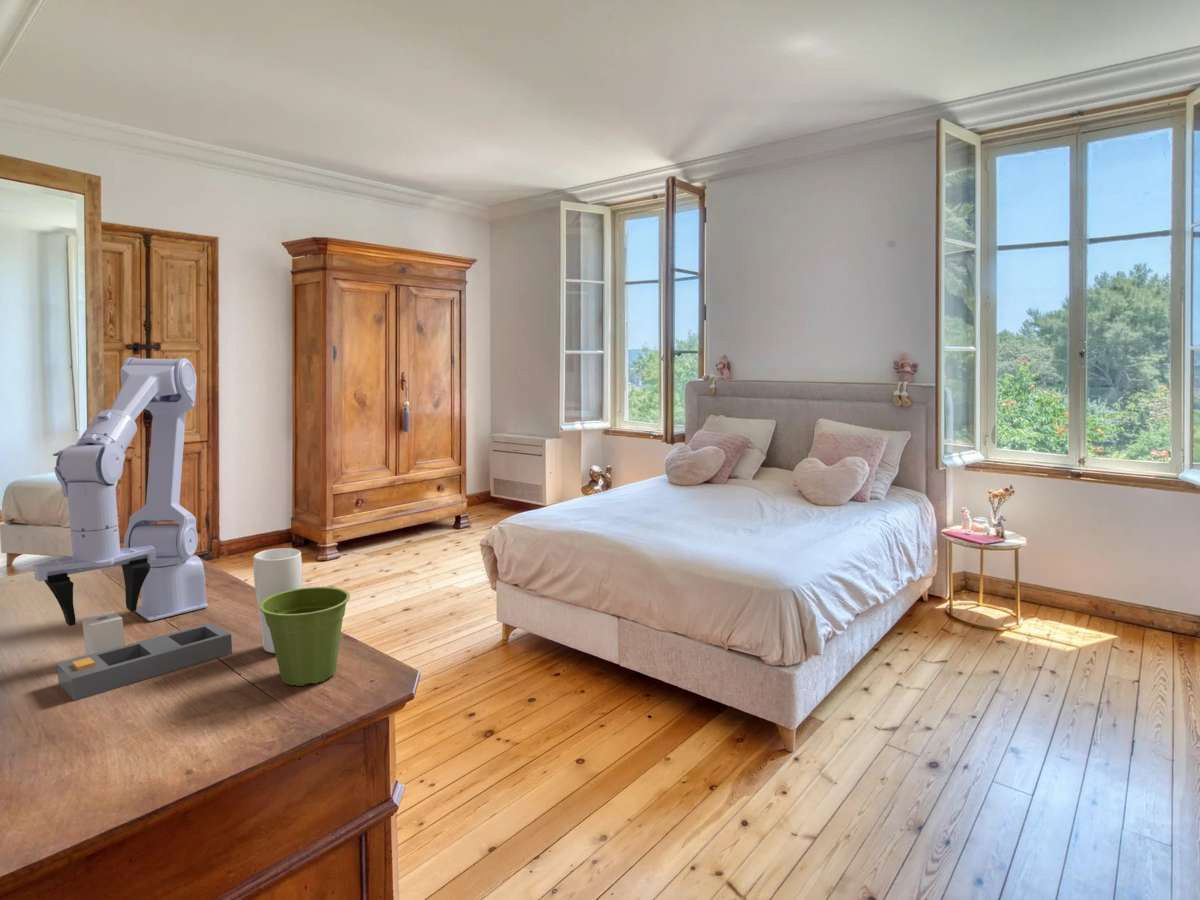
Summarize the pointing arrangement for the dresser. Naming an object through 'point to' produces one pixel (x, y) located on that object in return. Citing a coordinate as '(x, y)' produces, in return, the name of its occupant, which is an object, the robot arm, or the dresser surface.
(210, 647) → the power strip
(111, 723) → the dresser surface
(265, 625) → the white tall hollow cylinder
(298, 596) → the plant pot
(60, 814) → the dresser surface
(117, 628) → the block
